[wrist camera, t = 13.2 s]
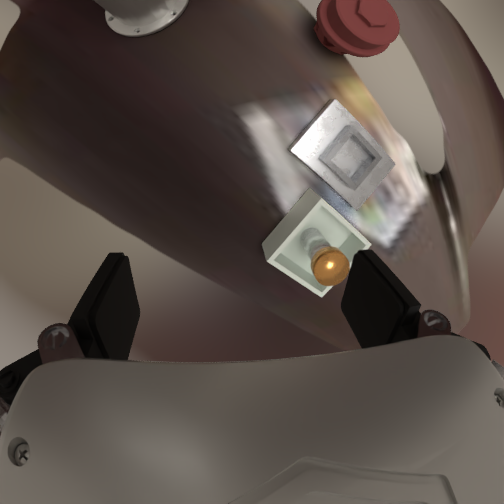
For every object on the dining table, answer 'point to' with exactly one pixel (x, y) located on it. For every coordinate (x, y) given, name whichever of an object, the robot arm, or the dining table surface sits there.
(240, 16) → the dining table surface
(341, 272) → the copper-capped metal peg
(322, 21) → the mechanical component
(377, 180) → the white base with recess
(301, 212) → the bin
